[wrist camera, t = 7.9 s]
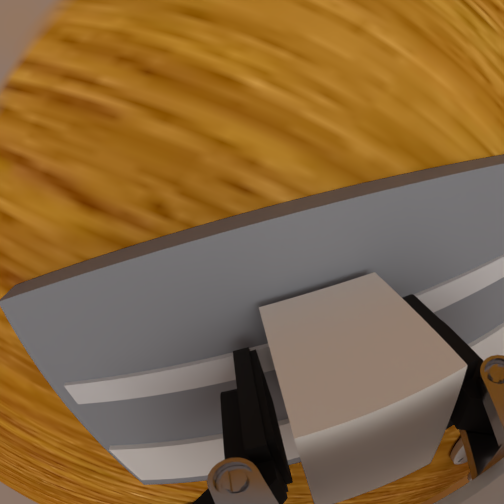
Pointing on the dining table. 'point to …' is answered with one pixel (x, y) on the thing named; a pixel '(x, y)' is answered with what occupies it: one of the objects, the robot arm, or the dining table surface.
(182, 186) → the dining table surface
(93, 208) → the dining table surface
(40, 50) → the dining table surface
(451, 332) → the robot arm
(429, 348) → the white block with pointer
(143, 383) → the gauge board
